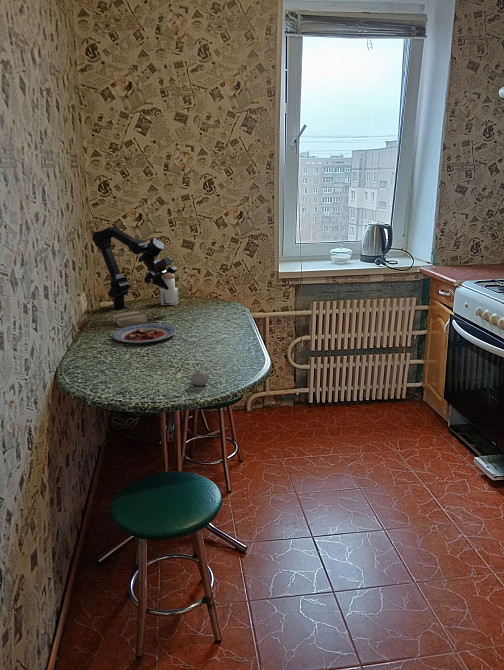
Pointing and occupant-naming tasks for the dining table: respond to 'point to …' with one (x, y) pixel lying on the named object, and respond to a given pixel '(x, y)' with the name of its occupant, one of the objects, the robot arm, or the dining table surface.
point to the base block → (129, 318)
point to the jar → (170, 293)
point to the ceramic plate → (144, 333)
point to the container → (164, 297)
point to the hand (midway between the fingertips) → (171, 288)
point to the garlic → (199, 377)
